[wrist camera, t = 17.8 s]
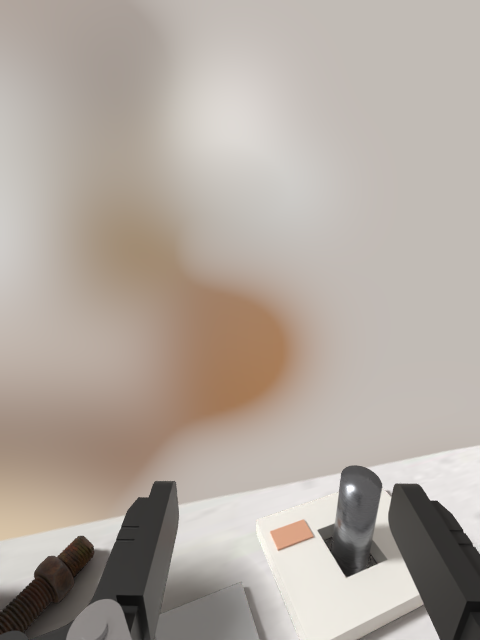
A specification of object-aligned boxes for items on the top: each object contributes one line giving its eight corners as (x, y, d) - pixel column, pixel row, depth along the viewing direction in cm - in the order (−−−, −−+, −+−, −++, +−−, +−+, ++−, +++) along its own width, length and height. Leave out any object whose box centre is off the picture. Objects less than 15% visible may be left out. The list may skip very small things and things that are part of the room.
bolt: (95, 568, 40) (-46, 728, 28) (69, 539, 42) (-78, 681, 29) (106, 549, 38) (-44, 718, 25) (79, 519, 39) (-79, 666, 26)
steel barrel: (328, 567, 39) (338, 487, 34) (334, 536, 42) (344, 460, 38) (365, 584, 37) (381, 503, 32) (368, 550, 40) (383, 473, 36)
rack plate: (309, 664, 30) (311, 647, 29) (256, 532, 43) (256, 518, 42) (457, 587, 36) (462, 571, 36) (372, 491, 49) (375, 478, 48)
